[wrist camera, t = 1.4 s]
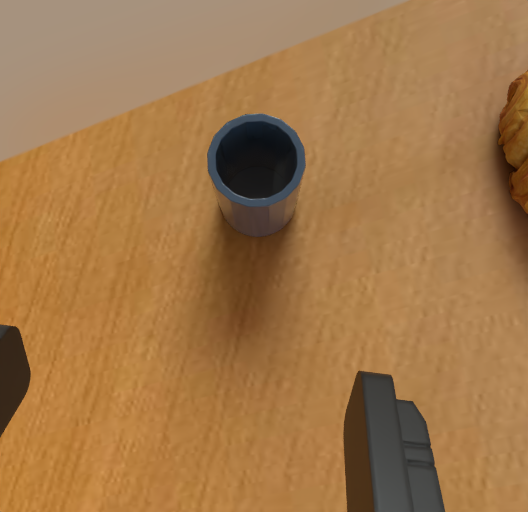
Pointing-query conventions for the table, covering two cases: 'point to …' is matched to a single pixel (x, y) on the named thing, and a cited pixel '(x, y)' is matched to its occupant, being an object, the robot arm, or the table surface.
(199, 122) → the table surface
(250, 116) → the cup
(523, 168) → the croissant
